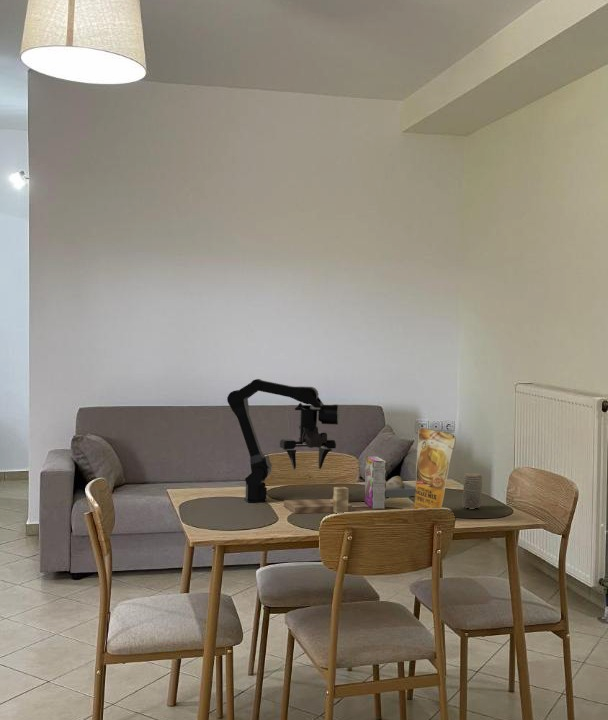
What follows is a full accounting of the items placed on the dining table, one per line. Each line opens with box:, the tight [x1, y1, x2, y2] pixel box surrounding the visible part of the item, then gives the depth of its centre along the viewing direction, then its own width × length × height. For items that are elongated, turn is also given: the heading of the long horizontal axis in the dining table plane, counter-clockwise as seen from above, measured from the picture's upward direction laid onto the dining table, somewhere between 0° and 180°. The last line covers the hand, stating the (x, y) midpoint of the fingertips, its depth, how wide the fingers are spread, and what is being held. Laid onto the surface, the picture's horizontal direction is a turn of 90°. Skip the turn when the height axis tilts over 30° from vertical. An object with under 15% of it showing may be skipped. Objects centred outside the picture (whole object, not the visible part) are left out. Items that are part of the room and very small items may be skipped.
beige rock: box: [386, 475, 405, 489], centre depth 308 cm, size 8×10×10 cm
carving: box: [461, 472, 483, 509], centre depth 287 cm, size 6×8×12 cm
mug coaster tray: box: [385, 481, 416, 498], centre depth 311 cm, size 15×14×3 cm
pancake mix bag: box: [413, 427, 457, 510], centre depth 273 cm, size 7×19×28 cm, turn 23°
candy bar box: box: [364, 455, 387, 510], centre depth 286 cm, size 11×5×16 cm, turn 9°
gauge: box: [329, 486, 350, 514], centre depth 275 cm, size 4×9×8 cm, turn 18°
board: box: [283, 498, 353, 515], centre depth 279 cm, size 20×12×2 cm, turn 109°
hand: (307, 468), depth 287 cm, fingers open, 9 cm apart
